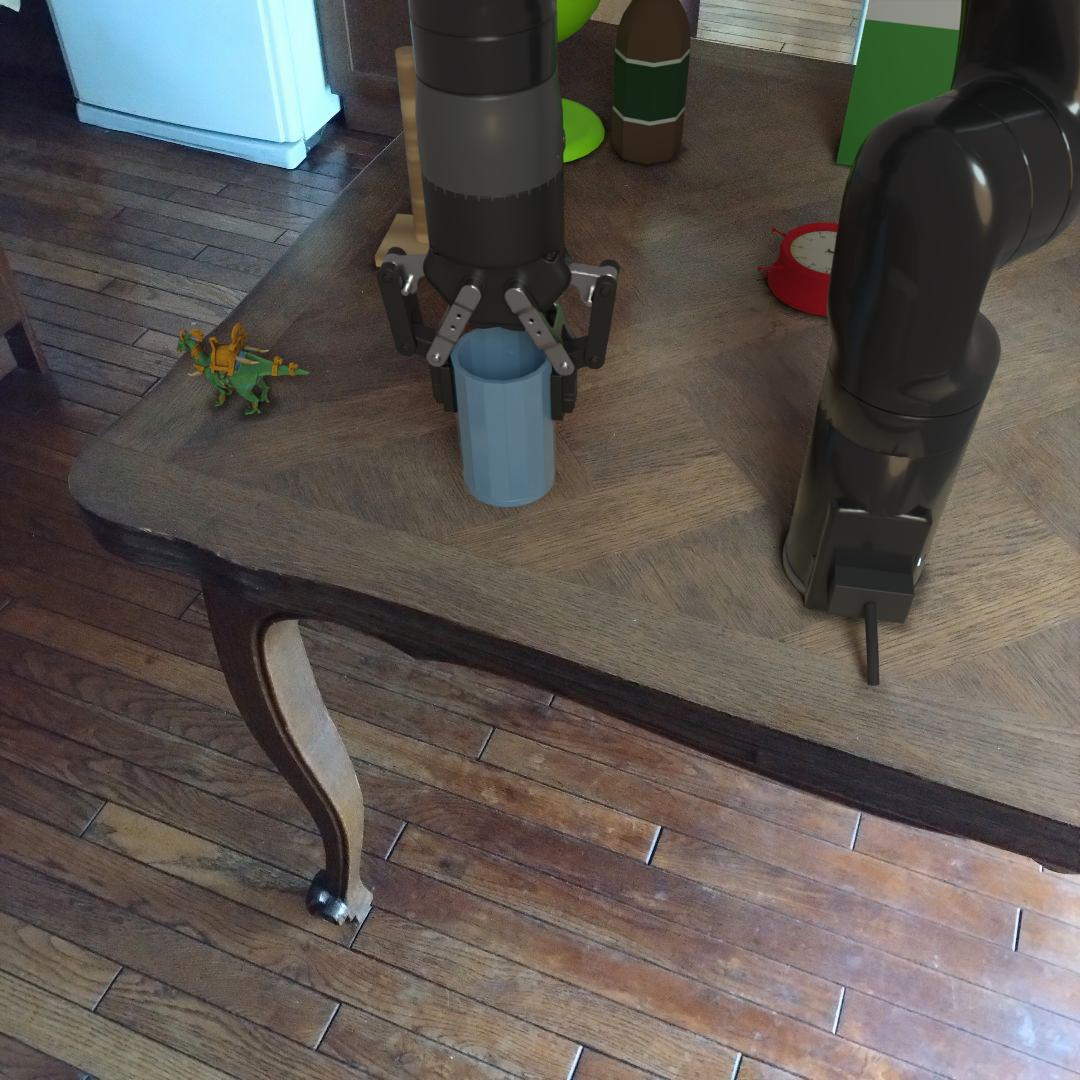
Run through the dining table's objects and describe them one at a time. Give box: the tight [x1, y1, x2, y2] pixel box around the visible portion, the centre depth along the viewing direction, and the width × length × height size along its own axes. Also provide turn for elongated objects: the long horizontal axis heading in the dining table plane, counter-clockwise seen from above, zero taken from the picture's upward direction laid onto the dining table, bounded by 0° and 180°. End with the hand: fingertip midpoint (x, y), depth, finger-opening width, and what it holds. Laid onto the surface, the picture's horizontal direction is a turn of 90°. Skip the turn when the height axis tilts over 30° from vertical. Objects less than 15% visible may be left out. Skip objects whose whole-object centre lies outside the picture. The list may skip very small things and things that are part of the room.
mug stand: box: [374, 45, 429, 268], centre depth 97 cm, size 8×17×19 cm, turn 80°
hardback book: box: [835, 0, 961, 167], centre depth 107 cm, size 18×7×24 cm, turn 70°
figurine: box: [175, 322, 310, 416], centre depth 85 cm, size 3×12×8 cm, turn 72°
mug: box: [450, 327, 557, 508], centre depth 69 cm, size 10×6×10 cm, turn 172°
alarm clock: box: [757, 221, 838, 317], centre depth 96 cm, size 10×6×15 cm
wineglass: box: [557, 0, 606, 163], centre depth 114 cm, size 16×16×18 cm
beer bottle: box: [611, 0, 692, 165], centre depth 109 cm, size 8×8×24 cm
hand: (506, 408), depth 67 cm, fingers closed on mug, 6 cm apart
